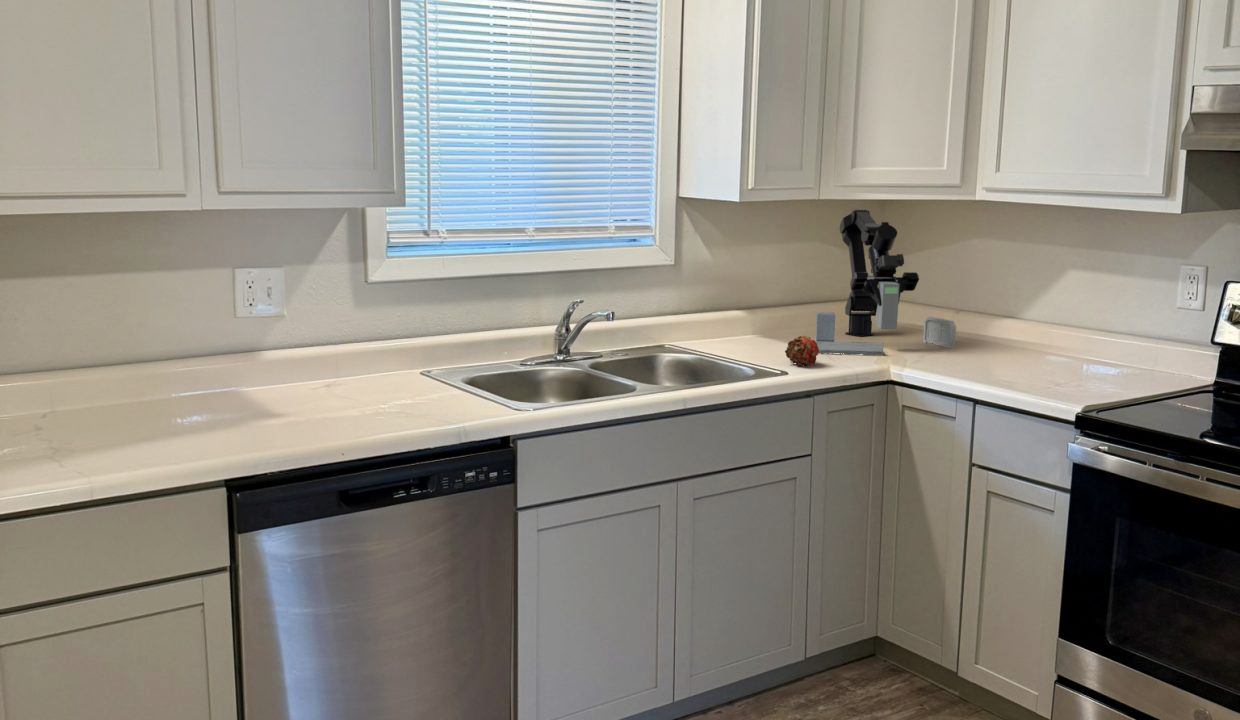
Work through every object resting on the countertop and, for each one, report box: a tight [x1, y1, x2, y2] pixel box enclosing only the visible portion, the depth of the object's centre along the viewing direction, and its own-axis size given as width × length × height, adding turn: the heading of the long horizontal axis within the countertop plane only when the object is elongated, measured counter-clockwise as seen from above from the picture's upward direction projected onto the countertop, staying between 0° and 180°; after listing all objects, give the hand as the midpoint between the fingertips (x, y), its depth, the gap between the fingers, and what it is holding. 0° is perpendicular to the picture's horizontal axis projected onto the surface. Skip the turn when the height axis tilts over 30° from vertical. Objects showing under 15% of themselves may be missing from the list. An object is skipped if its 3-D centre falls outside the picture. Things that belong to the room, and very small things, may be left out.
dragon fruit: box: [784, 335, 819, 366], centre depth 294 cm, size 8×8×12 cm
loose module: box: [875, 282, 900, 331], centre depth 314 cm, size 5×4×13 cm
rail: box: [815, 311, 884, 356], centre depth 312 cm, size 18×7×11 cm, turn 82°
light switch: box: [922, 316, 957, 349], centre depth 327 cm, size 2×12×8 cm, turn 25°
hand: (889, 304), depth 313 cm, fingers closed on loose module, 4 cm apart
